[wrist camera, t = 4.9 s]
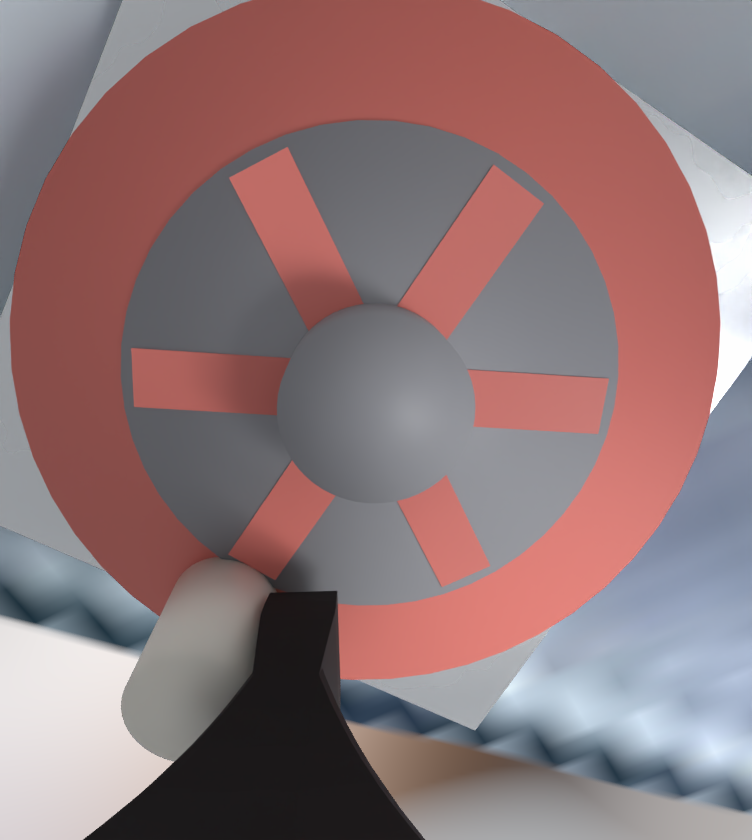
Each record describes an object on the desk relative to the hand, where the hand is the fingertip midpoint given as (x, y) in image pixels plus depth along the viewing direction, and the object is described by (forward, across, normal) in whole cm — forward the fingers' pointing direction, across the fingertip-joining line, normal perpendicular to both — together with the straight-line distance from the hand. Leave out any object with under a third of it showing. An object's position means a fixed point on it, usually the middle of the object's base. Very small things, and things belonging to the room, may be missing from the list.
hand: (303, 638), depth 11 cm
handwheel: (+2, -1, -4) cm, 5 cm away
